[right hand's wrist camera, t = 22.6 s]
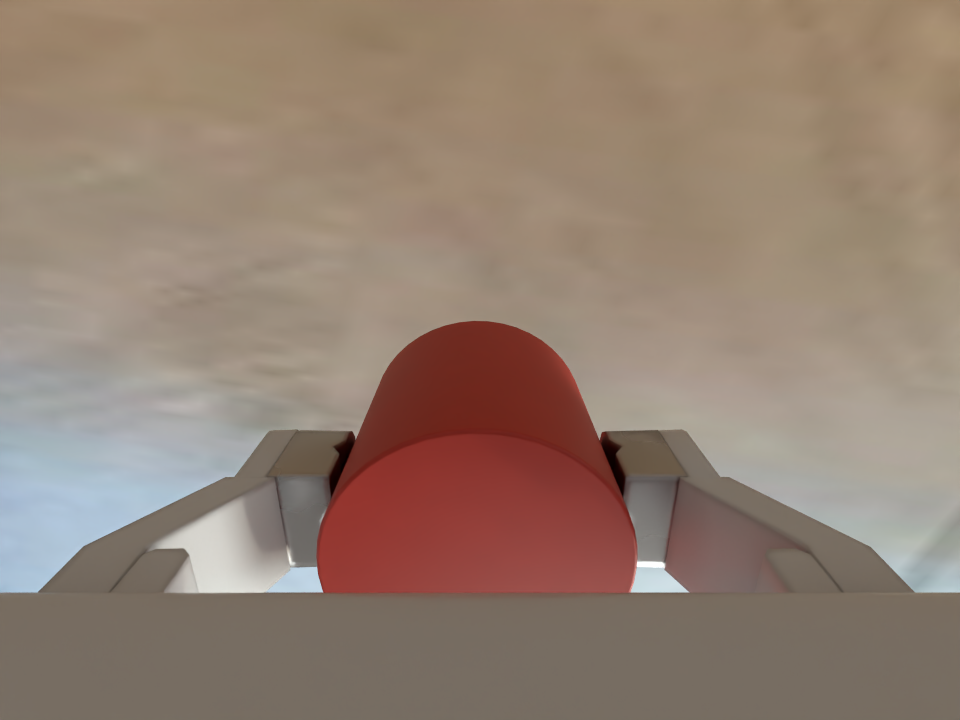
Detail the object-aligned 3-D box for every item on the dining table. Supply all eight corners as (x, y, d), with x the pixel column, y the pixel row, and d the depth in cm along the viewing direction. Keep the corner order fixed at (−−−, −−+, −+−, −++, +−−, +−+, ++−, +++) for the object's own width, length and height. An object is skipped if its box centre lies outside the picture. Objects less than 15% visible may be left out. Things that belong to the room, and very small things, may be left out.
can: (376, 310, 11) (311, 415, 7) (597, 330, 11) (671, 445, 7) (372, 495, 13) (317, 673, 8) (563, 510, 13) (605, 692, 9)
